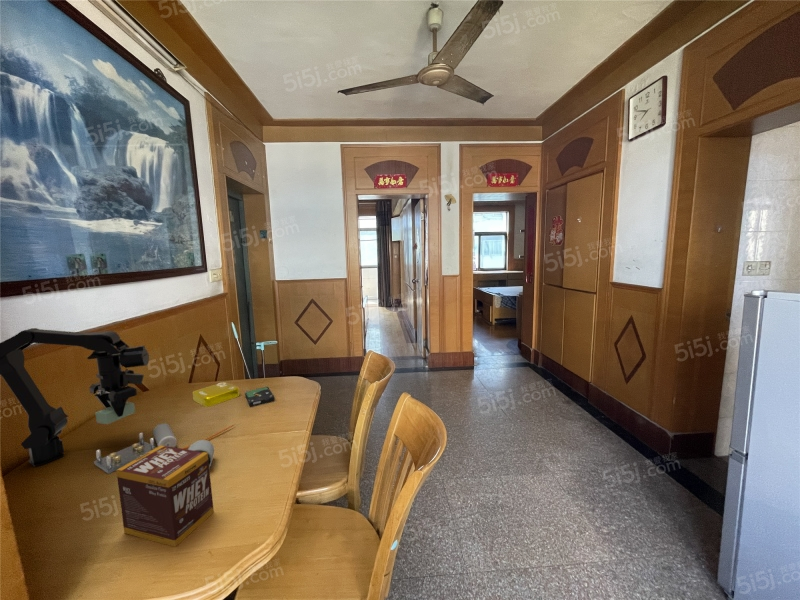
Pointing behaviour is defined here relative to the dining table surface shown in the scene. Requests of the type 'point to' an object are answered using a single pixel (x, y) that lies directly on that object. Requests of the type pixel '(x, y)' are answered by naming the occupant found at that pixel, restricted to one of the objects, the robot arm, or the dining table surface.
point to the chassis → (123, 455)
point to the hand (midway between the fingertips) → (116, 414)
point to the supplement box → (165, 494)
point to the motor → (171, 435)
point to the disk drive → (259, 396)
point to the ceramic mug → (203, 448)
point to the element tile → (215, 394)
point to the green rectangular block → (113, 414)
